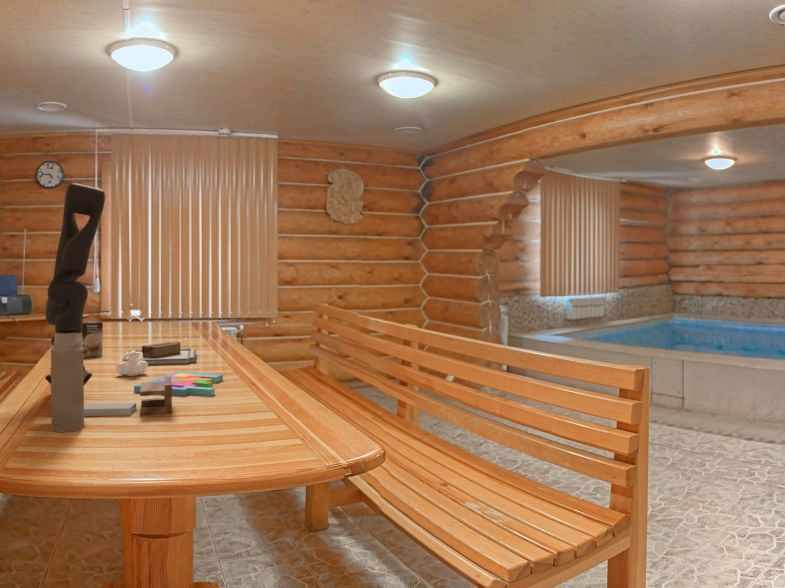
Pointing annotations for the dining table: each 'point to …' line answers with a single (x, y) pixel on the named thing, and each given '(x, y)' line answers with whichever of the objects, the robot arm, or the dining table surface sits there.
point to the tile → (109, 409)
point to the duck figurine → (132, 365)
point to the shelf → (156, 389)
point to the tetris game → (189, 383)
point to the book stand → (165, 354)
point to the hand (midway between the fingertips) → (69, 404)
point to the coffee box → (92, 338)
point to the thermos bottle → (67, 382)
